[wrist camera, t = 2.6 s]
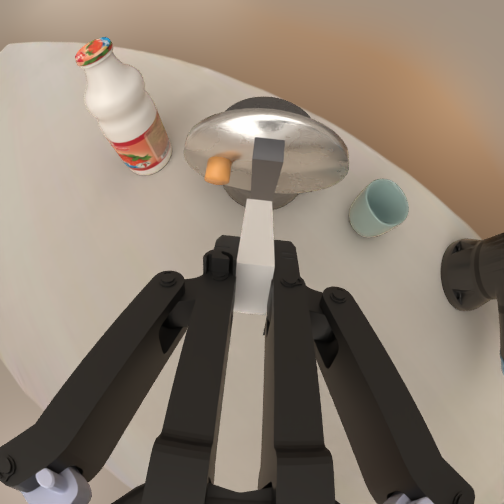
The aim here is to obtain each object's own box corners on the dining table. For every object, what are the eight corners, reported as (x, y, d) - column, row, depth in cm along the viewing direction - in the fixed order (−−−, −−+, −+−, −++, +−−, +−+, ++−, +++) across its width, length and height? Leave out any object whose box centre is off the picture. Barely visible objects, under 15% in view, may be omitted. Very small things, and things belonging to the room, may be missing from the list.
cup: (336, 209, 47) (356, 186, 37) (369, 195, 48) (393, 172, 38) (356, 249, 46) (381, 234, 36) (388, 232, 47) (416, 215, 37)
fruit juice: (182, 154, 49) (140, 35, 21) (143, 186, 47) (69, 83, 20) (156, 128, 50) (110, 21, 23) (120, 157, 48) (52, 61, 21)
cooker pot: (317, 217, 47) (338, 188, 35) (199, 204, 47) (186, 172, 35) (318, 145, 50) (334, 107, 38) (213, 134, 50) (206, 92, 38)
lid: (324, 191, 34) (323, 215, 34) (200, 177, 34) (196, 201, 34) (375, 128, 18) (378, 163, 18) (168, 104, 18) (158, 138, 18)
